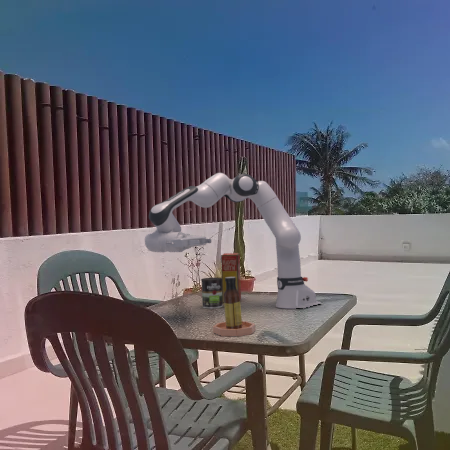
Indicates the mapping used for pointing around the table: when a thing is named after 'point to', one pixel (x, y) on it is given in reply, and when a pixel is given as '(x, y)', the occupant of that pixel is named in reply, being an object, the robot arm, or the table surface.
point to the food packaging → (230, 270)
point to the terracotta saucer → (245, 330)
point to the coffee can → (212, 293)
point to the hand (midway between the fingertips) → (205, 241)
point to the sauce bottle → (232, 305)
